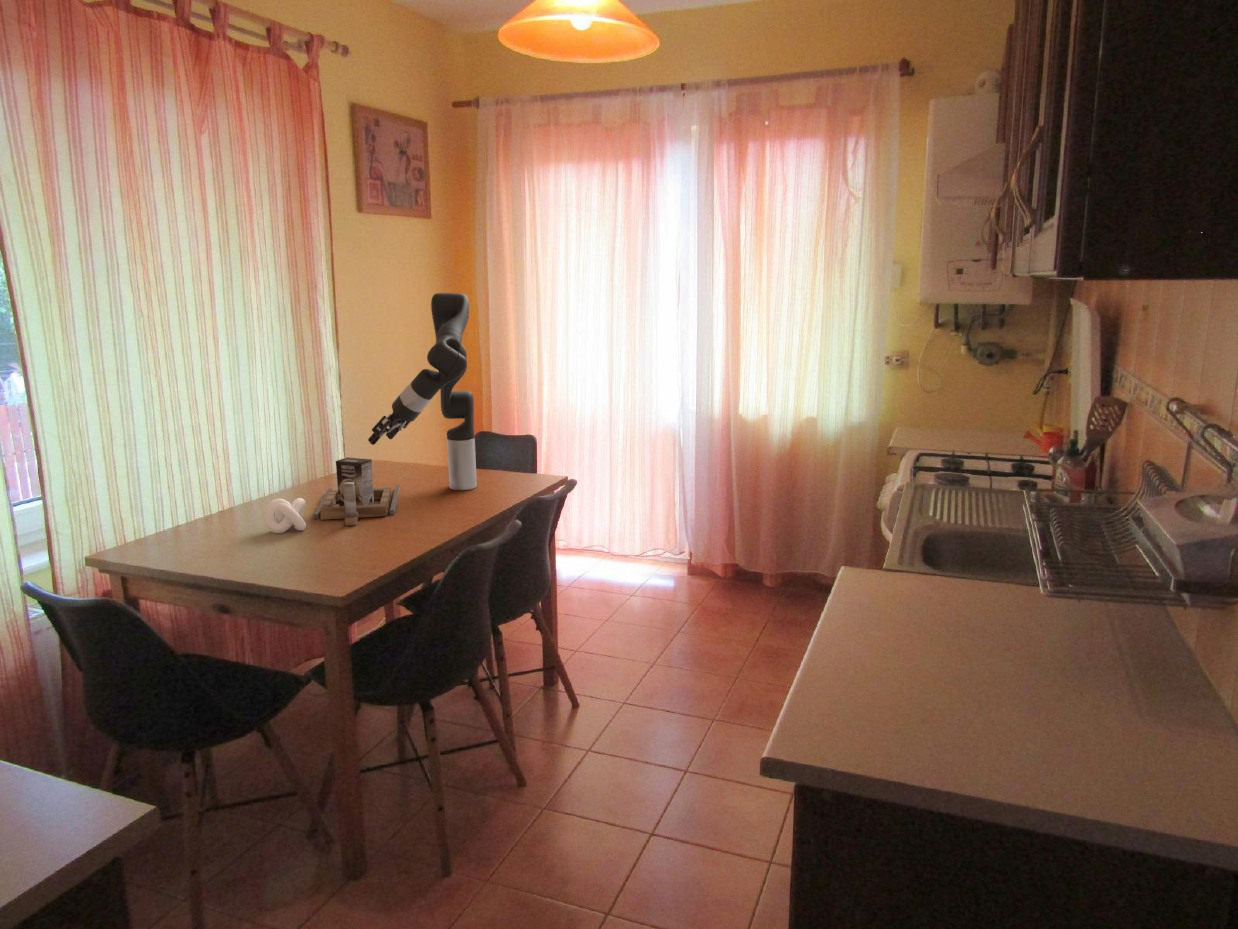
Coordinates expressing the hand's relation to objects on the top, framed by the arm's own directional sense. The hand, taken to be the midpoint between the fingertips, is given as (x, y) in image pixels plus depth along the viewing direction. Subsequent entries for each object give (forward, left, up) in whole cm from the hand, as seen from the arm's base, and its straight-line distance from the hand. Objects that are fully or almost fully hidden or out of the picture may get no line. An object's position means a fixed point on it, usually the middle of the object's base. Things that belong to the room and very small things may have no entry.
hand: (379, 439), depth 245 cm
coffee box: (-21, -10, -26) cm, 35 cm away
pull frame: (-19, -10, -26) cm, 34 cm away
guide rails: (-29, -10, -26) cm, 40 cm away
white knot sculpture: (-3, -28, -26) cm, 39 cm away
